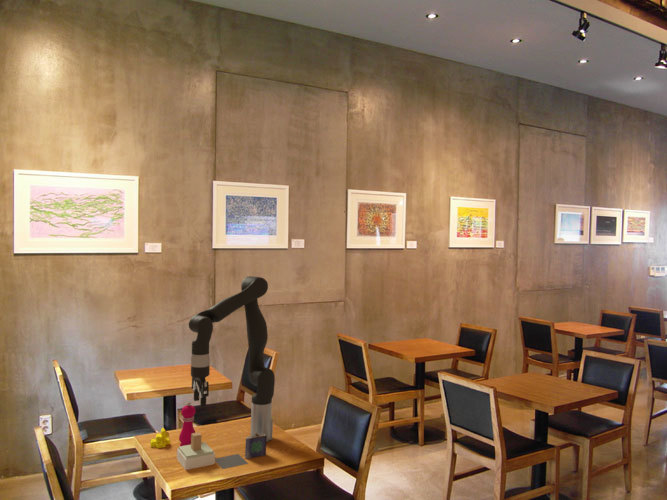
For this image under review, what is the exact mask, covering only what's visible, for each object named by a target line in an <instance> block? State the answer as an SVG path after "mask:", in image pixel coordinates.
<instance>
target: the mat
mask: <svg viewBox="0 0 667 500" xmlns="http://www.w3.org/2000/svg"><path fill="white" fill-rule="evenodd" d="M215 464H217V465H218V466H219V467H220V468H221V469H222V470H224V469H229V468H234V467H238V466H243V465H248V464H249V462H248V461H246V459H245V458H244V457H242V456H241V455H240V454H239V453H237V454H236V453H235V454H231V455H226V456H220V457H215Z"/></svg>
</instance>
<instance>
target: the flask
mask: <svg viewBox="0 0 667 500" xmlns="http://www.w3.org/2000/svg"><path fill="white" fill-rule="evenodd" d="M266 437H267V436H266V434H258V433H257V431H255V433H254V435H253V436H246V437H245V449H244V451H245V454H244V459H245V460H250V459H254V458H258V457H265V456H266V454H267V442H266Z"/></svg>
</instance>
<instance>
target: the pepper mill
mask: <svg viewBox="0 0 667 500" xmlns="http://www.w3.org/2000/svg"><path fill="white" fill-rule="evenodd" d="M191 404H192V403H191V401H187V402H186V404H185V405H184V406H183V407H182V409H181V411H180V414H181V415H182V418H181V419H182V423H183V424H182V429H181V431H180V433H179V435H178V441H179V442H180V444H179V447H180V446H185V445H191V434H192V433H196V430H195V428H194V421H195V415H196V408H195V406H193V405H191Z"/></svg>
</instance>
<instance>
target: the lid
mask: <svg viewBox="0 0 667 500" xmlns="http://www.w3.org/2000/svg"><path fill="white" fill-rule="evenodd" d="M178 449H179V450H180V452H181V453H182V454H183V455H184V456H185V458H186V459H189V458H194V457H199V456H204V455H209V454H214V453H215V451H214V449H212V448H211V447H210V446H209V445H208V444H207V442H205V441H202V434H201V433H200V432H195V433H192V434H191V445H185V446H180V445H179V446H178Z"/></svg>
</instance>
